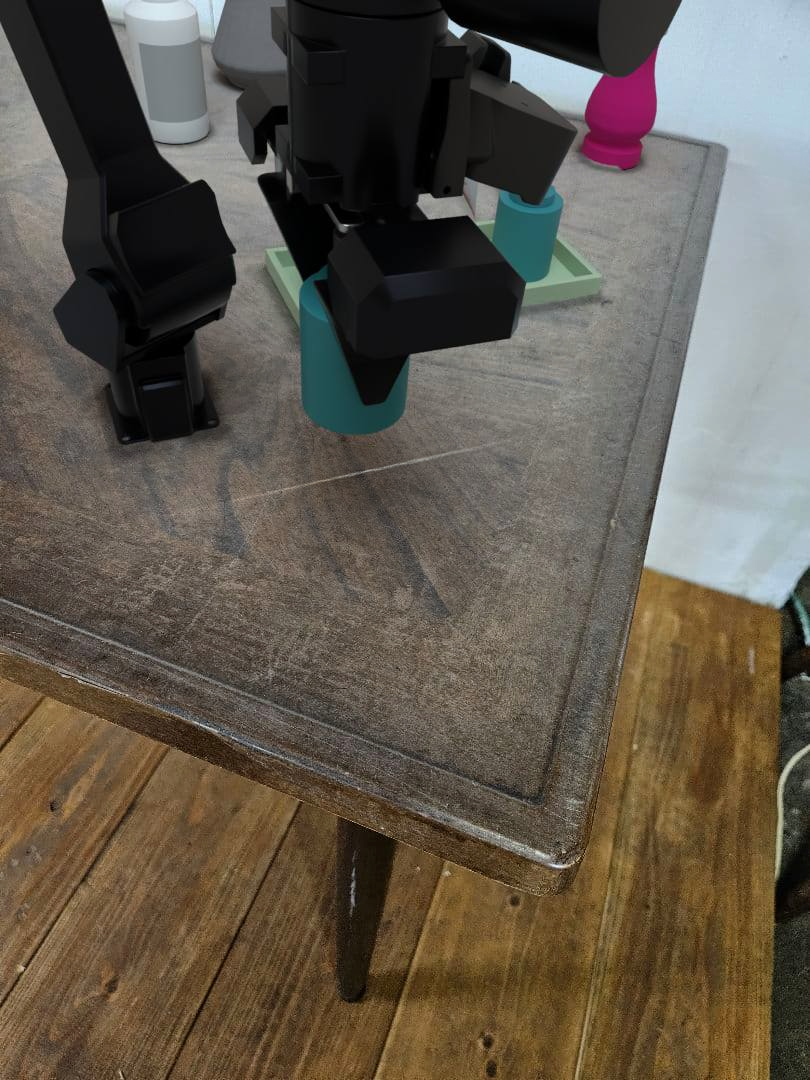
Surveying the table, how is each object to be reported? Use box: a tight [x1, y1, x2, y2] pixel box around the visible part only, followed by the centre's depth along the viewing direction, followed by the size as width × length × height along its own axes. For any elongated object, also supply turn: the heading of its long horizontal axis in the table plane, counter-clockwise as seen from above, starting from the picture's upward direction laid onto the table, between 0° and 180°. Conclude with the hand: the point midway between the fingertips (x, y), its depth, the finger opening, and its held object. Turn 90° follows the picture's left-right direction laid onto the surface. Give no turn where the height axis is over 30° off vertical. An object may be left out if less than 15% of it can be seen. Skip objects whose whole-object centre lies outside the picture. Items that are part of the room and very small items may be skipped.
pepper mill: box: [580, 29, 669, 170], centre depth 81 cm, size 7×7×20 cm
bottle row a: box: [492, 184, 564, 282], centre depth 67 cm, size 5×5×9 cm
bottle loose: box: [299, 226, 411, 436], centre depth 38 cm, size 5×5×9 cm
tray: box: [264, 219, 603, 329], centre depth 68 cm, size 11×25×2 cm, turn 112°
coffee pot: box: [210, 0, 287, 90], centre depth 91 cm, size 21×12×15 cm, turn 96°
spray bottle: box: [123, 0, 210, 145], centre depth 79 cm, size 7×7×18 cm
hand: (354, 368), depth 40 cm, fingers closed on bottle loose, 5 cm apart
